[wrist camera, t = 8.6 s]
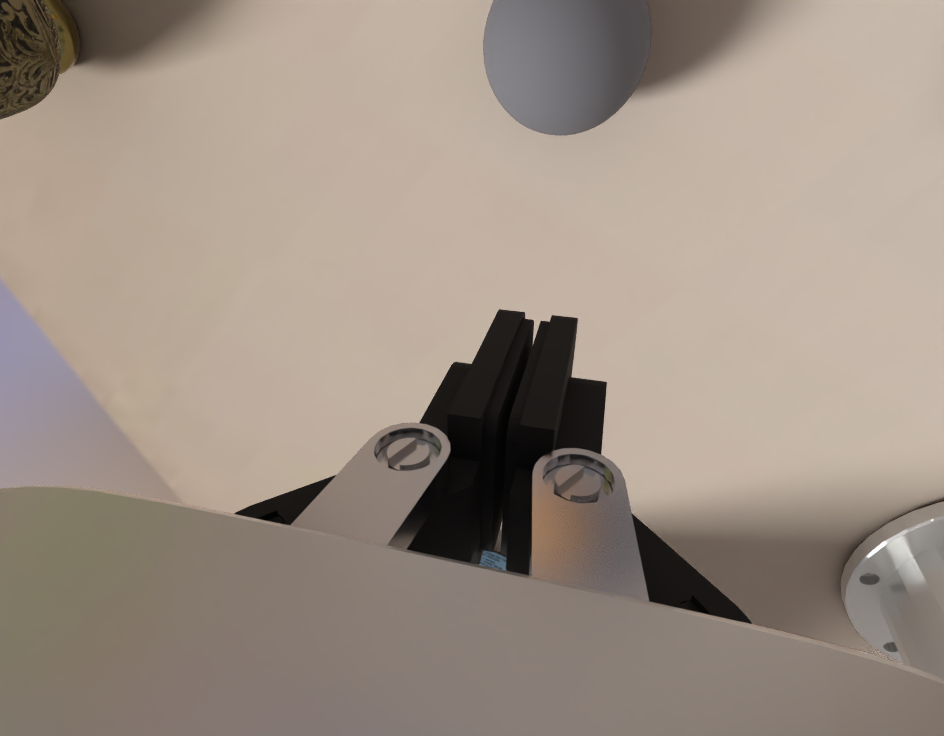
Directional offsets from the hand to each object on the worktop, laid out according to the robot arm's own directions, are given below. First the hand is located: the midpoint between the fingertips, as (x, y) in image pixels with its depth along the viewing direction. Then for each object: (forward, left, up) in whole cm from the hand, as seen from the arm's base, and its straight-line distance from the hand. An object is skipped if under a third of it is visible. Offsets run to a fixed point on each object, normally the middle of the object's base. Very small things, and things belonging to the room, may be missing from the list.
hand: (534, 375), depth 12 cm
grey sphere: (+1, -6, -11) cm, 13 cm away
